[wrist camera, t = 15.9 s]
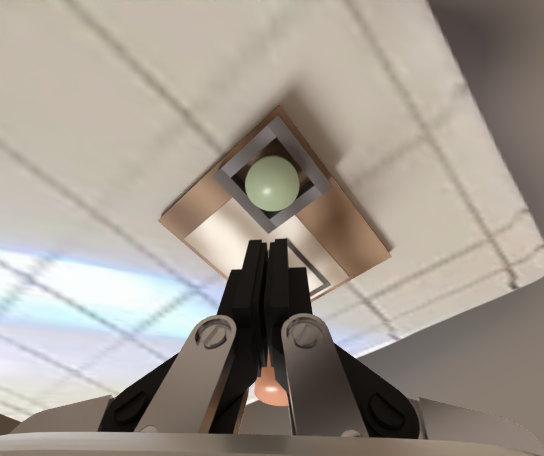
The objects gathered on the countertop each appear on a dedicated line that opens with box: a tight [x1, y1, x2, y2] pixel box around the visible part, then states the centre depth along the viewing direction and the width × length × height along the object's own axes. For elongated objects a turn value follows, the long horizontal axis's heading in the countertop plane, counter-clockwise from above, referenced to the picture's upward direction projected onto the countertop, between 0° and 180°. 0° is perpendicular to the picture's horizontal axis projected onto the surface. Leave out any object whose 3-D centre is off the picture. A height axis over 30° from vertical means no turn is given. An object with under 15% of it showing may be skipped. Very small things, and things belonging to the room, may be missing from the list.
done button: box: [245, 154, 299, 211], centre depth 22 cm, size 5×5×2 cm
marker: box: [254, 347, 288, 406], centre depth 25 cm, size 4×4×13 cm
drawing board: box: [158, 106, 392, 302], centre depth 27 cm, size 18×21×3 cm
